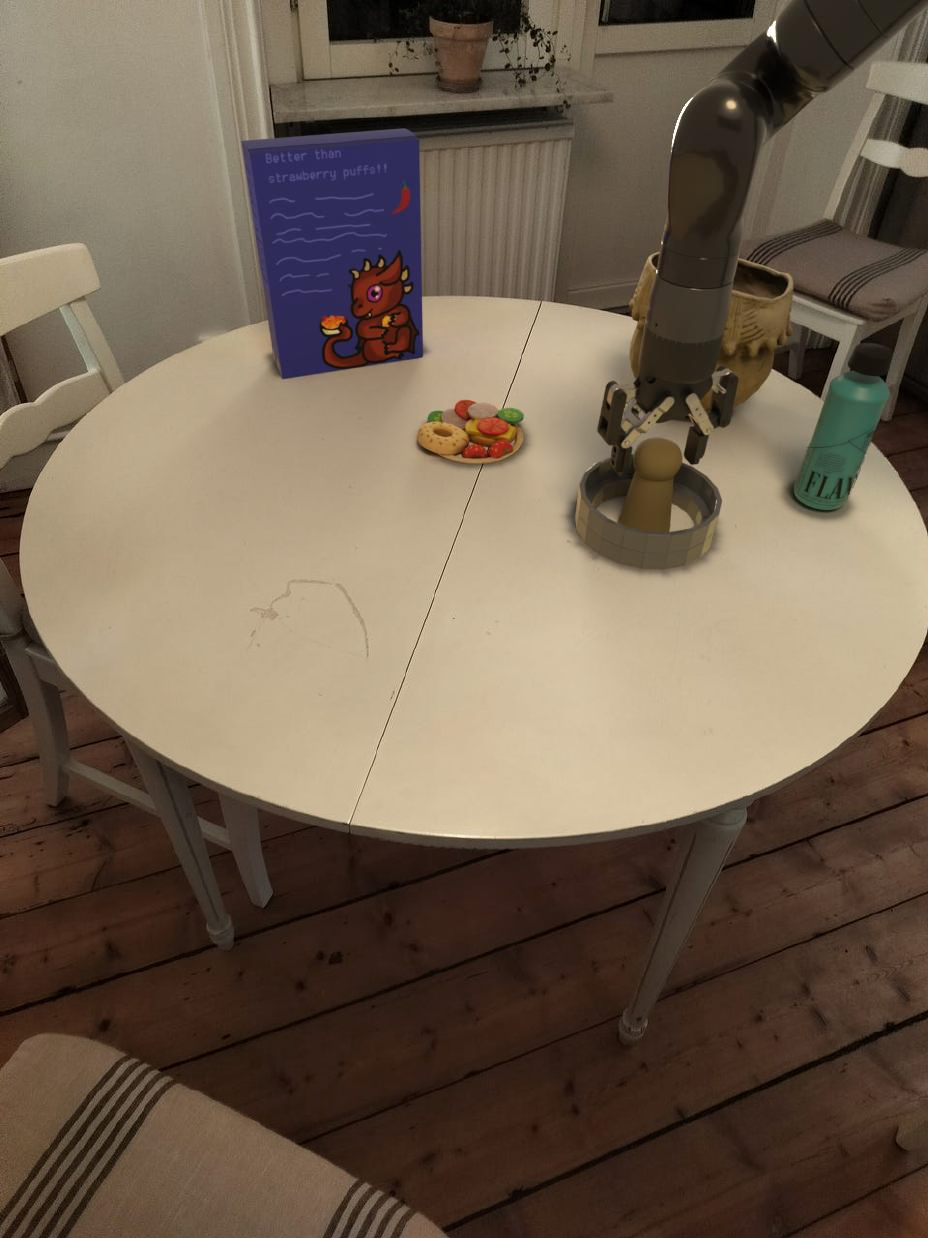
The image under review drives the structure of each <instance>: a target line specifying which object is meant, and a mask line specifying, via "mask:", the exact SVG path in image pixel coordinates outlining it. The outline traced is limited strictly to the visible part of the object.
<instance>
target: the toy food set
mask: <svg viewBox="0 0 928 1238" xmlns="http://www.w3.org/2000/svg"><path fill="white" fill-rule="evenodd" d="M524 419H525V413H523V411H521V410H520V409H518V408H515V407H504V408H500V409H498V407H497V406H496V405H494V404H492V403H489V402H476V401H474V400H471V399H461V400H459V401H457V402H456V403H455V404H454V408H448V409H446V410H444V411H443V410H433V411H430V412H429V413H428V415H427V422H426V423H423V424H422V425H421V426H420V427H419V428H418V431H417V436H416V440H417V443H418V444H419V445H420V446H421V447H423V449H426V450H428V451H429V452H433V453H435V454H437V455H439V456H440V457H442V458H445V459H446V460H449V461H452V462H455V463H461V464H465V465H466V464H467V465H484V464H485V465H486V464H492V463H496V462H500V461H503V460H505V459H508V458H510V457H512V455H514V454H515V453H517V452H518V451H519V449H520V448H521V446H522V445H523V442H524V433H523V430H522V429H521V427H520V426H519V425H518V424H520V423H521V422H522V421H523V420H524ZM512 441H514V443H513V445H512V444H511V443H512ZM470 443H471V444H470ZM469 444H470V445H469ZM486 448H489V449H488V450H487V449H486ZM458 455H461V456H458Z"/></svg>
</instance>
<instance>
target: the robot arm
mask: <svg viewBox="0 0 928 1238" xmlns="http://www.w3.org/2000/svg"><path fill="white" fill-rule="evenodd" d="M927 8H928V0H789V2H788V3H787V4H786V5H785V6H784V8H783V9H782V10H781V11H780V13H779V14H778V15H777V16H776V17H775V19H774V21H773V22H772V23H771V24H769V26H768V27H766V28H765V29H764V30H763V31H762V32H760V34H758V35H757V36H756V37H755V38H754V39H753V40H752V41H750V42H749V43H748V44H747V45H746V46H745V47H744V48H743V49H741V51H740V52H738V53H737V54H736V55H735V56H734V57H733V58H732V59H731V60H730V61H728V63H726V64H725V65H724V66H723V67H722V68H721V69H720V70H719V71H718V72H716V74H715V75H714V76H712V77H711V78H710V79H709V80H708V81H707V82H706V83H705V84H704V85H703V86H702V87H701V88H700V89H699V90H698V91H697V92H696V93H695V94H694V95H693V96H692V97H691V98H690V99H689V100H688V101H687V103H686V104H685V106H684V107H683V108H682V111H681V113H680V115H679V117H678V120H677V122H676V126H675V129H674V133H673V138H672V144H671V149H670V157H669V166H668V177H667V178H668V179H667V196H666V197H667V199H666V202H667V203H666V219H665V223H664V226H663V227H664V228H663V230H662V231H663V232H662V237H661V241H660V247H659V252H660V253H659V259H658V264H657V271H656V275H655V279H654V282H653V285H652V288H651V292H650V296H649V301H648V307H647V311H646V319H645V325H644V331H643V337H642V343H641V349H640V354H639V373H638V376H637V378H636V379H634V381H633V383H631V384H618V383H617V382H616V381H615V380H610V381H608V383H606V385H605V389H604V393H603V399H602V404H601V408H600V413H599V418H598V423H597V428H596V432H597V433H598V434H599V436H600V437H601V438H602V440H603V441H604V442H605V443H606V445H607V446H611V453H610V457H609V458H610V464H611V466H612V468H613V469H614V470H615V472H616V473H617V474H618V475H619V476H620V477H623V476H627V475H628V471H629V465H630V460H631V454H633V446H632V445H633V444H634V443H635V442H636V441H637V439H639V437H640V436H641V435H642V434H646V433H648V432H649V430H650V429H651V428H652V427H653V426H654V425H655V423H656V424H664V423H666V422H669V421H671V420H672V421H681V420H684V419H685V417H689V419H690V421H691V422H692V424H693V425H692V426H691V425H690V426H689V428H688V432H687V436H686V437H687V438H686V441H685V446H684V450H683V457H684V458H683V459H685V461H687V462H688V464H689V465H690V466H695V465H698V464H700V460H701V459H703V457H704V456H705V452H706V449H707V446H708V441H709V436H710V435H711V434H712V433H713V432H714V430H715V429H718V428H719V427H720V428H721V429H724V428H727V427H728V426H729V425H730V423H731V419H732V415H733V410H734V408H733V405H734V400H735V395H736V391H737V386H738V381H739V378H738V377H737V376H736V375H735V374H734V373H733V372H732V371H731V370H730V369H728V368H727V367H726V366H724V365H722V366H720V367H719V368H718V369H717V370H716V372H714V371H715V368H716V364H717V360H718V356H719V352H720V348H721V343H722V339H723V335H724V330H725V326H726V322H727V318H728V314H729V310H730V305H731V298H732V287H733V281H734V276H735V272H736V268H737V263H738V259H739V258H740V254H741V249H742V246H743V241H744V234H745V226H746V224H745V217H744V213H745V211H746V206H747V202H748V198H749V194H750V190H751V186H752V182H753V178H754V175H755V172H756V168H757V164H758V160H759V157H760V154H761V151H762V149H763V147H764V146H765V145H766V144H768V142H770V141H771V139H772V138H773V137H774V136H775V135H776V134H777V133H779V131H781V130H782V129H783V128H784V127H785V126H786V125H787V124H788V123H789V122H791V120H793V119H794V118H795V117H796V116H797V115H798V114H799V113H801V111H803V110H804V109H805V108H806V107H807V106H808V105H809V104H810V103H811V102H813V100H814V99H815V98H817V97H818V96H820V95H823V94H826V93H828V92H829V91H831V90H832V89H834V88H836V87H837V86H838V85H840V84H841V83H842V82H843V81H845V80H846V79H847V78H849V76H851V75H852V74H853V73H855V71H856V70H858V69H860V67H862V66H863V65H864V64H865V63H866V62H867V61H868V60H870V59H871V58H872V57H873V56H874V55H875V54H877V52H879V51H880V50H882V48H883V47H885V45H887V44H888V43H889V42H890V41H891V40H892V39H894V38H895V37H896V36H897V35H898V34H899V33H901V32H902V31H903V30H904V29H905V28H906V27H907V26H908V25H909V24H911V23H912V22H913V21H914V20H915V19H917V17H919V15H921V14H922V13H923V12H924V11H925V10H926V9H927ZM711 388H712V389H713V391H712V397H711V402H710V408H709V413H706V411H705V409H704V408H703V406H702V404H701V403H700V401H701V400H702V399H703V397H704V396H705V395H706V394H707V393H708V392H709V390H710V389H711ZM633 398H634V399H633ZM632 399H633V400H632ZM631 400H632V402H631V403H630V401H631ZM629 403H630V404H629ZM641 411H642V412H643V414H644V416H643V418H641V417H639V415H640V413H641ZM687 415H689V416H687Z"/></svg>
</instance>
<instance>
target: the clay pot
mask: <svg viewBox="0 0 928 1238" xmlns="http://www.w3.org/2000/svg"><path fill="white" fill-rule="evenodd" d="M659 253H660V251H657V252H655V253H652V254H650V255H648V257H647V260H646V262H645V264H644V267H643V269H642V272H641V275H640V278H639V281H638V283H637V286H636V288H635V290H634V294H633V296H632V298H631V299H630V300H629V303H628V307H629V309H630V310H631V318H632V320H633V321H634V322H635V321H636V322H637V323H636V327H635V329H634V331H633V334H632V336H631V340H630V345H629V354H628V356H629V363H630V368H631V372H632V375H633V377H634V380H636V378H637V376H638V373H639V354H640V349H641V343H642V337H643V331H644V325H645V319H646V311H647V307H648V301H649V296H650V292H651V288H652V285H653V282H654V279H655V275H656V271H657V264H658V259H659ZM793 293H794V279H793V276H791V274H790V273H787V272H781V271H779V270H776V269H774V268H771V267H769V266H766V265H763V264H759V263H756V262H753V261H750V260H747V259H743V258H740V257H739V259H738V263H737V268H736V272H735V276H734V281H733V287H732V298H731V305H730V310H729V314H728V318H727V322H726V326H725V330H724V335H723V339H722V343H721V348H720V352H719V356H718V360H717V364H716V368H715V371H714V372H716V370H717V369H718V368H719V367H720V366H722V365H724V366H726V367H727V368H728V369H730V370H731V371H732V372H733V373H734V374H735V375H736V376H737V377H738V378H739V381H738V386H737V391H736V395H735V400H734V405H733V409H735V408H737V407H739V406H740V405H742V404H743V403H745V402H746V401H747V400H748V399H750V398H751V397H752V396H753V395H754V394H755V393H756V392H758V391H759V390H760V388H761V387H762V386H763V384H764V383H765V382H766V381H767V379H768V378H769V377H770V374H771V373H772V369H773V366H774V359H775V352H776V350H777V349H778V345H779V346H784V345H785V344H787V343H788V337H792V335H793V333H794V330H793V328H792V326H791V312H792V307H793V297H794V296H793V295H794V294H793ZM712 391H713V389H712V388H711V389H710V390H709V392H708V393H707V394H706V395H705V396H704V397H703V399H702V400H701V401H700V403H701V404H702V406H703V408H704V409H705V411H706V413H709V408H710V402H711V397H712ZM686 417H689V415H687V416H686Z"/></svg>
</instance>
